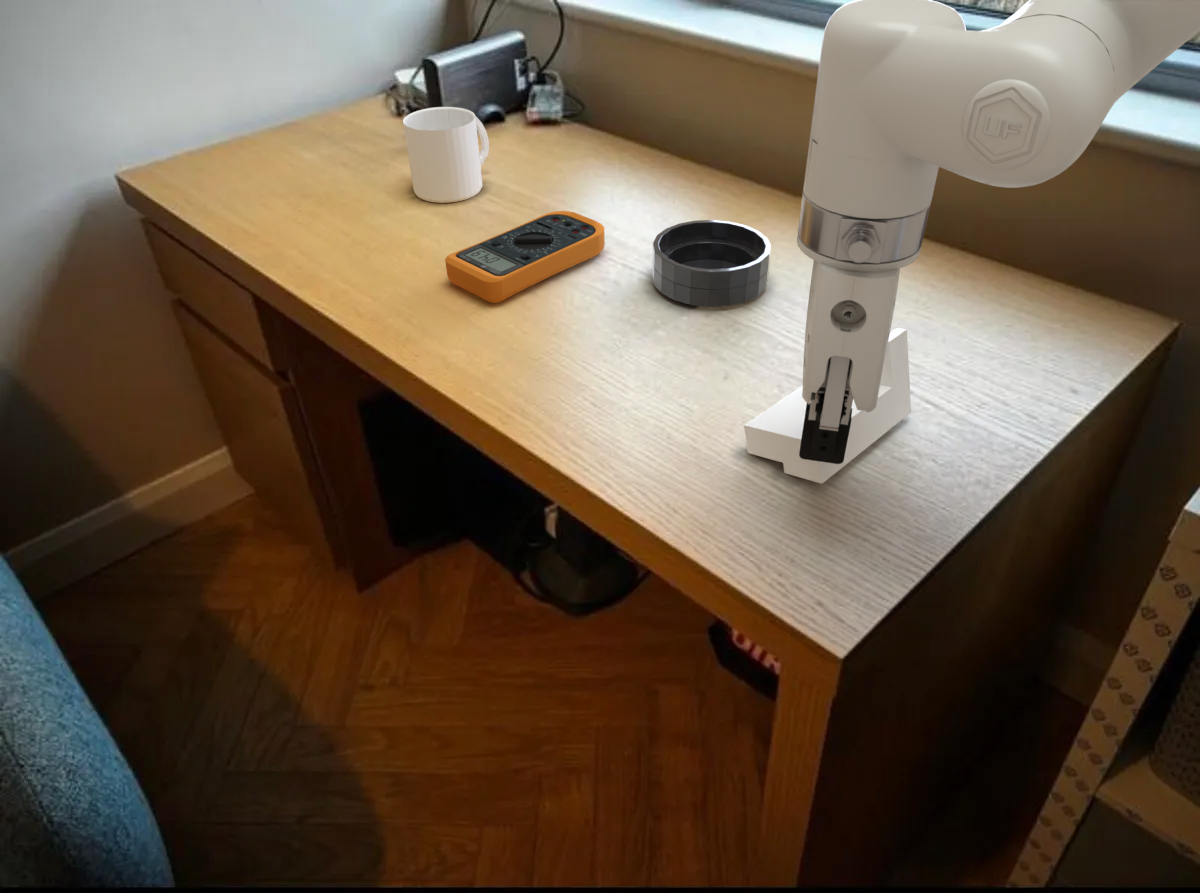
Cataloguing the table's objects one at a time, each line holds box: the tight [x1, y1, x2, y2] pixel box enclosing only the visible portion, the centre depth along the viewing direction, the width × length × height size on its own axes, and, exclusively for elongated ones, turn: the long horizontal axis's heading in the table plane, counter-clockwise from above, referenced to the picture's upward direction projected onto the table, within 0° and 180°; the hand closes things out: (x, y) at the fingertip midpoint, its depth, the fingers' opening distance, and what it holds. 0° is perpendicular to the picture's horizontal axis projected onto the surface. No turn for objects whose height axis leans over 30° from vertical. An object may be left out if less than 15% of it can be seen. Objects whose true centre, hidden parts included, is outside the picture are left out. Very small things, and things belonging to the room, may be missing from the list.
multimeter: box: [444, 210, 606, 304], centre depth 100 cm, size 9×18×3 cm, turn 136°
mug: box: [402, 106, 490, 204], centre depth 117 cm, size 12×9×9 cm
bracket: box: [743, 327, 912, 485], centre depth 74 cm, size 13×7×8 cm, turn 134°
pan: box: [651, 219, 772, 308], centre depth 96 cm, size 12×12×4 cm
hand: (821, 454), depth 67 cm, fingers closed
